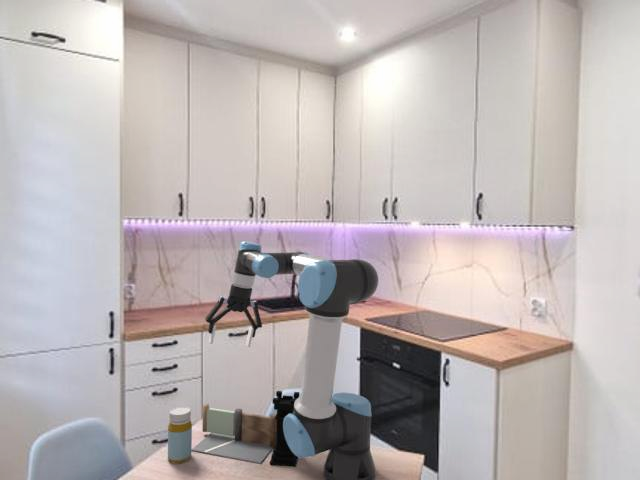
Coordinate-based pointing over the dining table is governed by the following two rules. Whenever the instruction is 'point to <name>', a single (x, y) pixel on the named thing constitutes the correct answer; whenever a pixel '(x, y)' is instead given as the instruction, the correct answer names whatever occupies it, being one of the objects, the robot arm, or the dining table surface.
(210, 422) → the fence panel
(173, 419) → the bottle
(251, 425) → the walnut fence section
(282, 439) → the chess piece
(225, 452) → the board
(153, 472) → the dining table surface
